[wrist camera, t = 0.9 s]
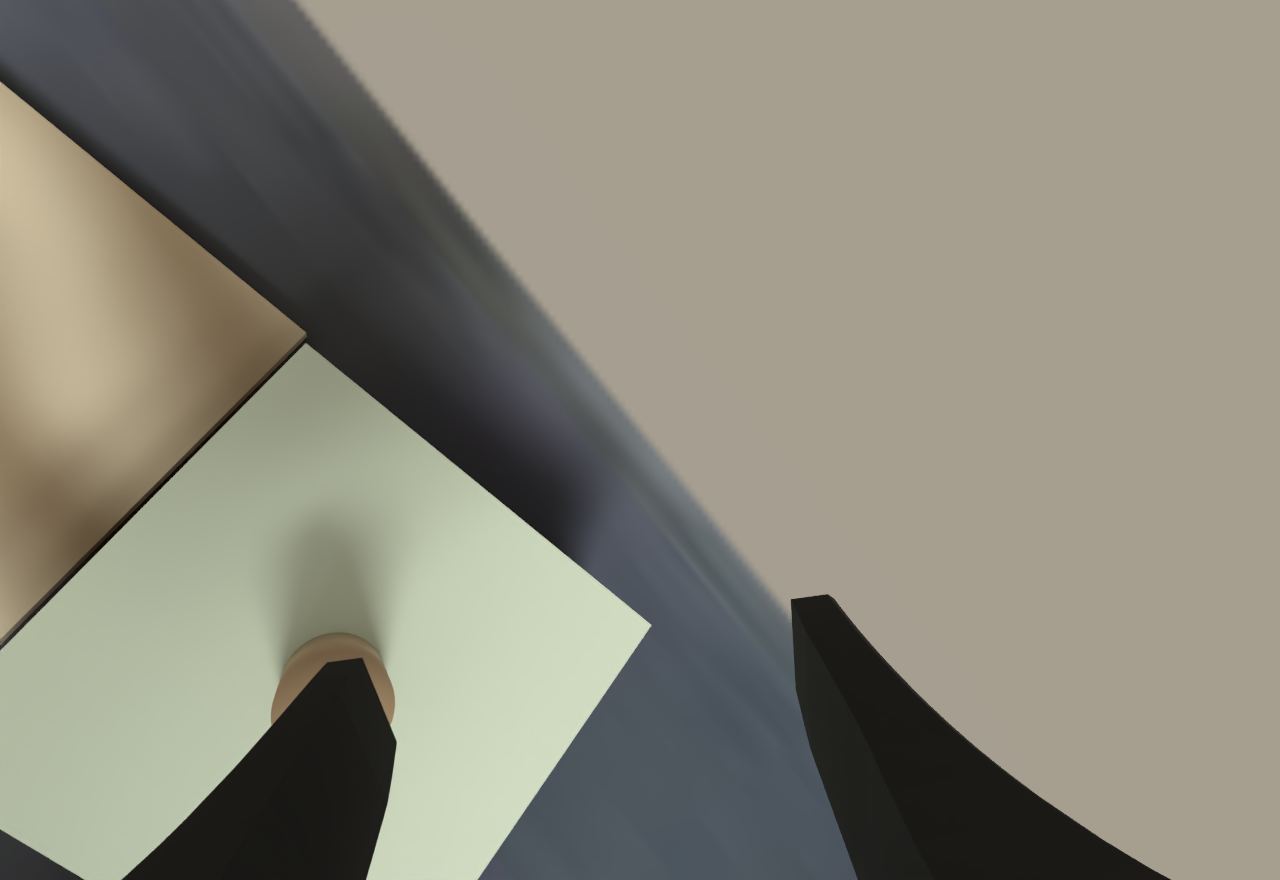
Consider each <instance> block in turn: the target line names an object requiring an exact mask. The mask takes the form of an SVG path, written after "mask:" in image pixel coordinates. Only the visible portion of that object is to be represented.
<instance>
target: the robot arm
mask: <svg viewBox="0 0 1280 880" xmlns="http://www.w3.org/2000/svg"><path fill="white" fill-rule="evenodd" d="M791 611H792V629H793V646H794V664H795V682H796V692H797V696H798V700H799V704H800V708H801V712H802V717H803V721H804V725H805V729H806V733H807V737H808V741H809V745H810V748H811V751H812V754H813V757H814V760H815V763H816V765H817V768H818V771H819V774H820V776H821V779H822V782H823V785H824V788H825V790H826V793H827V796H828V799H829V801H830V804H831V807H832V810H833V812H834V815H835V818H836V821H837V823H838V826H839V829H840V831H841V834H842V837H843V840H844V842H845V845H846V848H847V851H848V853H849V856H850V859H851V862H852V864H853V867H854V870H855V873H856V875H857V878H858V880H1170V879H1169V878H1167V877H1165V876H1163V875H1161V874H1159V873H1158V872H1156V871H1154V870H1152V869H1150V868H1149V867H1147V866H1145V865H1144V864H1142V863H1140V862H1139V861H1137V860H1135V859H1134V858H1132V857H1130V856H1129V855H1127V854H1125V853H1124V852H1122V851H1120V850H1119V849H1117V848H1116V847H1114V846H1112V845H1111V844H1109V843H1107V842H1105V841H1104V840H1102V839H1101V838H1099V837H1098V836H1096V835H1095V834H1093V833H1092V832H1091V831H1089V830H1088V829H1086V828H1085V827H1083V826H1082V825H1080V824H1079V823H1077V822H1076V821H1074V820H1073V819H1071V818H1070V817H1069V816H1067V815H1066V814H1064V813H1063V812H1061V811H1060V810H1058V809H1057V808H1055V807H1054V806H1052V805H1051V804H1049V803H1048V802H1046V801H1045V800H1043V799H1042V798H1041V797H1039V796H1038V795H1036V794H1035V793H1034V792H1032V791H1031V790H1030V789H1028V788H1027V787H1026V786H1024V785H1023V784H1021V782H1019V781H1018V780H1016V779H1015V778H1014V777H1013V776H1011V775H1010V774H1008V773H1007V772H1006V771H1005V770H1003V769H1002V768H1001V767H1000V766H998V765H997V764H996V763H995V762H994V761H992V760H991V759H990V758H989V757H987V756H986V755H985V754H984V753H982V752H981V751H980V750H979V749H978V748H976V747H975V746H974V745H973V744H972V743H970V742H969V741H968V740H967V739H966V738H965V737H964V736H962V735H961V734H960V733H959V732H958V731H957V730H955V729H954V728H953V727H952V726H951V725H950V724H949V723H948V722H947V721H946V720H945V719H944V718H943V717H941V716H940V715H939V714H938V713H937V712H936V711H935V710H934V709H933V708H932V707H931V706H929V705H928V703H926V701H924V700H923V699H922V698H921V697H920V696H919V695H918V694H917V693H916V692H915V691H914V690H913V689H912V688H911V687H910V686H909V685H908V683H907V682H906V681H905V680H904V679H903V678H902V677H901V676H900V675H899V674H898V673H897V672H896V671H895V670H894V669H893V668H892V667H891V666H890V665H889V664H888V663H887V662H886V660H885V659H884V658H883V657H882V656H881V655H880V654H879V653H878V652H877V651H876V649H875V648H874V647H873V646H872V645H871V644H870V643H869V641H868V640H867V639H866V638H865V637H864V636H863V634H862V633H861V632H860V631H859V630H858V629H857V627H856V626H855V625H854V624H853V622H852V621H851V620H850V619H849V618H848V616H847V615H846V614H845V612H844V611H843V610H842V609H841V607H840V606H839V605H838V603H837V602H836V601H835V599H834V598H832V597H831V596H829V595H828V594H827V595H819V596H812V597H805V598H797V599H791ZM396 746H397V741H396V738H395V736H394V733H393V731H392V729H391V726H390V724H389V721H388V719H387V716H386V714H385V711H384V709H383V707H382V704H381V702H380V699H379V697H378V694H377V692H376V689H375V687H374V685H373V682H372V680H371V677H370V675H369V672H368V670H367V667H366V665H365V663H364V660H363V658H355V659H347V660H340V661H333V662H327V663H326V664H325V665H324V666H323V667H322V668H321V669H320V670H319V671H318V673H317V674H316V675H315V676H314V677H313V678H312V679H311V680H310V682H309V683H308V684H307V685H306V686H305V687H304V689H303V690H302V691H301V692H300V693H299V694H298V696H297V697H296V698H295V699H294V700H293V701H292V703H291V704H290V705H289V706H288V707H287V708H286V710H285V711H284V712H283V713H282V714H281V715H280V717H279V718H278V719H277V720H276V721H275V722H274V724H273V725H272V726H271V727H270V728H269V729H268V730H267V731H266V733H265V734H264V735H263V736H262V737H261V738H260V739H259V741H258V742H257V743H256V744H255V745H254V746H253V747H252V748H251V750H250V751H249V752H248V753H247V754H246V755H245V756H244V758H243V759H242V760H241V761H240V762H239V763H238V764H237V765H236V767H235V768H234V769H233V770H232V771H231V772H230V773H229V774H228V775H227V776H226V777H225V778H224V779H223V780H222V781H221V782H220V783H219V784H218V785H217V787H216V788H215V789H214V790H213V791H212V792H211V793H210V794H209V795H208V796H207V797H206V798H205V799H204V800H203V801H202V802H201V803H200V804H199V805H198V807H197V808H196V809H195V810H194V811H193V812H192V813H191V814H190V815H189V816H188V817H187V818H186V819H185V820H184V821H183V822H182V823H181V824H180V825H179V826H178V827H177V828H176V829H175V830H174V831H173V832H172V833H171V834H170V835H169V836H168V837H167V838H166V839H165V840H164V841H163V842H162V843H161V844H160V845H159V846H157V847H156V848H155V849H154V850H153V851H152V852H151V853H150V854H149V855H148V856H147V857H146V858H145V859H143V860H142V861H141V862H140V863H139V864H138V865H137V866H136V867H135V868H134V869H132V870H131V871H130V872H129V873H128V874H127V875H126V876H125V877H124V878H123V879H122V880H366V878H367V875H368V872H369V868H370V865H371V861H372V858H373V854H374V851H375V847H376V844H377V840H378V837H379V833H380V829H381V826H382V822H383V819H384V815H385V811H386V808H387V804H388V799H389V793H390V787H391V781H392V775H393V768H394V761H395V753H396Z"/></svg>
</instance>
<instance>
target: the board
mask: <svg viewBox="0 0 1280 880" xmlns="http://www.w3.org/2000/svg"><path fill="white" fill-rule="evenodd" d="M306 338H307V333H306V332H305V331H304V330H302V329H301V328H300V327H299V326H298V325H296V324H295V323H294V322H293V321H291V320H290V319H289V318H288V317H287V316H285V315H284V314H283V313H282V312H280V311H279V310H278V309H277V308H276V307H274V306H273V305H272V304H271V303H270V302H268V301H267V300H266V299H265V298H263V297H262V296H261V295H260V294H259V293H257V292H256V291H255V290H254V289H252V288H251V287H250V286H249V285H248V284H246V283H245V282H244V281H243V280H241V279H240V278H239V277H238V276H237V275H235V274H234V273H233V272H232V271H230V270H229V269H228V268H227V267H226V266H224V265H223V264H222V263H221V262H220V261H218V260H217V259H216V258H215V257H213V256H212V255H211V254H210V253H209V252H207V251H206V250H205V249H204V248H202V247H201V246H200V245H199V244H198V243H196V242H195V241H194V240H193V239H191V238H190V237H189V236H188V235H187V234H185V233H184V232H183V231H182V230H180V229H179V228H178V227H177V226H176V225H174V224H173V223H172V222H171V221H170V220H168V219H167V218H166V217H165V216H163V215H162V214H161V213H160V212H159V211H157V210H156V209H155V208H154V207H152V206H151V205H150V204H149V203H148V202H146V201H145V200H144V199H143V198H141V197H140V196H139V195H138V194H137V193H135V192H134V191H133V190H132V189H131V188H129V187H128V186H127V185H126V184H124V183H123V182H122V181H121V180H120V179H118V178H117V177H116V176H115V175H113V174H112V173H111V172H110V171H109V170H107V169H106V168H105V167H104V166H102V165H101V164H100V163H99V162H98V161H96V160H95V159H94V158H93V157H91V156H90V155H89V154H88V153H87V152H85V151H84V150H83V149H82V148H81V147H79V146H78V145H77V144H76V143H74V142H73V141H72V140H71V139H70V138H68V137H67V136H66V135H65V134H63V133H62V132H61V131H60V130H59V129H57V128H56V127H55V126H54V125H52V124H51V123H50V122H49V121H48V120H46V119H45V118H44V117H43V116H42V115H40V114H39V113H38V112H37V111H35V110H34V109H33V108H32V107H31V106H29V105H28V104H27V103H26V102H24V101H23V100H22V99H21V98H20V97H18V96H17V95H16V94H15V93H13V92H12V91H11V90H10V89H9V88H7V87H6V86H5V85H4V84H2V83H1V82H0V645H1V644H2V643H3V642H4V641H5V640H6V639H7V638H8V637H9V636H10V635H11V634H12V633H13V632H14V631H15V630H16V629H17V628H18V627H19V626H20V625H21V624H22V623H23V622H24V621H25V620H26V619H27V618H28V617H29V616H30V615H31V614H32V613H33V612H34V611H35V610H36V609H37V608H38V607H39V606H40V605H41V604H42V603H43V602H44V601H45V600H46V599H47V598H48V597H49V596H50V595H51V594H52V593H53V592H54V591H55V590H56V589H57V588H58V587H59V586H60V585H61V584H62V583H63V582H64V581H65V580H66V579H67V578H68V577H69V576H70V575H71V574H72V573H73V572H74V571H75V570H76V569H77V568H78V567H79V566H80V565H81V564H82V563H83V562H84V561H85V560H86V559H87V558H88V557H89V556H90V555H91V554H92V553H93V552H94V551H95V550H96V549H97V548H98V547H99V546H100V545H101V544H102V543H103V542H104V541H105V540H106V539H107V538H108V537H109V536H110V535H111V534H112V533H113V532H114V531H115V530H116V529H117V528H118V527H119V526H120V525H121V524H122V523H123V522H124V521H125V520H126V519H127V518H128V517H129V516H130V515H131V514H132V513H133V512H134V511H135V510H136V509H137V508H138V507H139V506H140V504H141V503H142V502H143V501H144V500H145V499H146V498H147V497H148V496H149V495H150V494H151V493H152V492H153V491H154V490H155V489H156V488H157V487H158V486H159V485H160V484H161V483H162V482H163V481H164V480H165V479H166V478H167V477H168V476H169V475H170V474H171V473H172V472H173V471H174V470H175V469H176V468H177V467H178V466H179V465H180V464H181V463H182V462H183V461H184V460H185V459H186V458H187V457H188V456H189V455H190V454H191V453H192V452H193V451H194V450H195V449H196V448H197V447H198V446H199V445H200V444H201V443H202V442H203V441H204V440H205V439H206V438H207V437H208V436H209V435H210V434H211V433H212V432H213V431H214V430H215V429H216V428H217V427H218V426H219V425H220V424H221V423H222V422H223V421H224V420H225V419H226V418H227V417H228V416H229V415H230V414H231V413H232V412H233V411H234V410H235V409H236V408H237V407H238V406H239V405H240V404H241V403H242V402H243V401H244V400H245V399H246V398H247V397H248V396H249V395H250V394H251V393H252V392H253V391H254V390H255V389H256V388H257V387H258V386H259V385H260V384H261V383H262V382H263V381H264V380H265V379H266V378H267V377H268V376H269V375H270V374H271V373H272V372H273V371H274V370H275V369H276V368H277V367H278V366H279V365H280V364H281V363H282V362H283V361H284V360H285V359H286V358H287V357H288V356H289V355H290V354H291V353H292V352H293V351H294V350H295V349H296V348H297V347H298V346H299V345H300V344H301V343H302V342H303V341H304V340H305V339H306Z"/></svg>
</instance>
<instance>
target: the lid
mask: <svg viewBox="0 0 1280 880" xmlns="http://www.w3.org/2000/svg"><path fill="white" fill-rule="evenodd" d="M650 627H651V624H649V623H648V622H647V621H646V620H645V619H643V618H642V617H641V616H640V615H638V614H637V613H636V612H635V611H634V610H632V609H631V608H630V607H629V606H627V605H626V604H625V603H624V602H623V601H621V600H620V599H619V598H618V597H616V596H615V595H614V594H613V593H611V592H610V591H609V590H608V589H607V588H605V587H604V586H603V585H602V584H600V583H599V582H598V581H597V580H596V579H594V578H593V577H592V576H591V575H589V574H588V573H587V572H586V571H585V570H583V569H582V568H581V567H580V566H578V565H577V564H576V563H575V562H574V561H572V560H571V559H570V558H569V557H567V556H566V555H565V554H564V553H563V552H561V551H560V550H559V549H558V548H556V547H555V546H554V545H553V544H551V543H550V542H549V541H548V540H547V539H545V538H544V537H543V536H542V535H540V534H539V533H538V532H537V531H536V530H534V529H533V528H532V527H531V526H529V525H528V524H527V523H526V522H525V521H523V520H522V519H521V518H520V517H518V516H517V515H516V514H515V513H514V512H512V511H511V510H510V509H509V508H507V507H506V506H505V505H504V504H503V503H501V502H500V501H499V500H498V499H496V498H495V497H494V496H493V495H491V494H490V493H489V492H488V491H487V490H485V489H484V488H483V487H482V486H480V485H479V484H478V483H477V482H476V481H474V480H473V479H472V478H471V477H469V476H468V475H467V474H466V473H465V472H463V471H462V470H461V469H460V468H458V467H457V466H456V465H455V464H454V463H452V462H451V461H450V460H449V459H447V458H446V457H445V456H444V455H443V454H441V453H440V452H439V451H438V450H436V449H435V448H434V447H433V446H431V445H430V444H429V443H428V442H427V441H425V440H424V439H423V438H422V437H420V436H419V435H418V434H417V433H416V432H414V431H413V430H412V429H411V428H409V427H408V426H407V425H406V424H405V423H403V422H402V421H401V420H400V419H398V418H397V417H396V416H395V415H394V414H392V413H391V412H390V411H389V410H387V409H386V408H385V407H384V406H383V405H381V404H380V403H379V402H378V401H376V400H375V399H374V398H373V397H371V396H370V395H369V394H368V393H367V392H365V391H364V390H363V389H362V388H360V387H359V386H358V385H357V384H356V383H354V382H353V381H352V380H351V379H349V378H348V377H347V376H346V375H345V374H343V373H342V372H341V371H340V370H338V369H337V368H336V367H335V366H334V365H332V364H331V363H330V362H329V361H327V360H326V359H325V358H324V357H323V356H321V355H320V354H319V353H318V352H316V351H315V350H314V349H313V348H311V347H310V346H309V345H308V344H307V343H305V344H304V345H303V346H302V347H301V348H300V349H299V350H298V351H297V352H296V353H295V354H294V355H293V356H292V357H291V358H290V359H289V360H288V361H287V362H286V363H285V364H284V365H283V366H282V367H281V369H280V370H279V371H278V372H277V373H276V374H275V375H274V376H273V377H272V378H271V379H270V380H269V381H268V382H267V383H266V384H265V385H264V386H263V387H262V388H261V389H260V390H259V391H258V392H257V393H256V394H255V395H254V396H253V397H252V398H251V399H250V400H249V401H248V402H247V403H246V404H245V405H244V406H243V407H242V408H241V409H240V410H239V411H238V412H237V413H236V414H235V415H234V416H233V417H232V418H231V419H230V420H229V421H228V422H227V423H226V424H225V425H224V426H223V427H222V428H221V429H220V430H219V431H218V432H217V433H216V434H215V435H214V436H213V437H212V438H211V439H210V440H209V441H208V442H207V443H206V444H205V445H204V446H203V447H202V448H201V449H200V450H199V451H198V452H197V453H196V454H195V455H194V456H193V457H192V458H191V459H190V460H189V461H188V462H187V463H186V464H185V465H184V466H183V467H182V468H181V469H180V470H179V471H178V472H177V473H176V474H175V475H174V476H173V477H172V478H171V479H170V480H169V481H168V482H167V483H166V484H165V485H164V486H163V487H162V488H161V489H160V490H159V491H158V492H157V493H156V494H155V495H154V496H153V497H152V498H151V499H150V500H149V501H148V502H147V503H146V504H145V505H144V506H143V507H142V508H141V509H140V511H139V512H138V513H137V514H136V515H135V516H134V517H133V518H132V519H131V520H130V521H129V522H128V523H127V524H126V525H125V526H124V527H123V528H122V529H121V530H120V531H119V532H118V533H117V534H116V535H115V536H114V537H113V538H112V539H111V540H110V541H109V542H108V543H107V544H106V545H105V546H104V547H103V548H102V549H101V550H100V551H99V552H98V553H97V554H96V555H95V556H94V557H93V558H92V559H91V560H90V561H89V562H88V563H87V564H86V565H85V566H84V567H83V568H82V569H81V570H80V571H79V572H78V573H77V574H76V575H75V576H74V577H73V578H72V579H71V580H70V581H69V582H68V583H67V584H66V585H65V586H64V587H63V588H62V589H61V590H60V591H59V592H58V593H57V594H56V595H55V596H54V597H53V598H52V599H51V600H50V601H49V602H48V603H47V604H46V605H45V606H44V607H43V608H42V609H41V610H40V611H39V612H38V613H37V614H36V615H35V616H34V617H33V618H32V619H31V620H30V621H29V622H28V623H27V624H26V625H25V626H24V627H23V628H22V629H21V630H20V631H19V632H18V633H17V634H16V635H15V636H14V637H13V638H12V639H11V640H10V641H9V642H8V643H7V644H6V645H5V646H4V647H3V648H2V649H1V650H0V829H1V830H2V831H4V832H6V833H7V834H9V835H11V836H12V837H14V838H16V839H17V840H19V841H21V842H22V843H24V844H26V845H27V846H29V847H31V848H32V849H34V850H36V851H37V852H39V853H41V854H43V855H44V856H46V857H48V858H49V859H51V860H53V861H54V862H56V863H58V864H59V865H61V866H63V867H64V868H66V869H68V870H69V871H71V872H73V873H74V874H76V875H78V876H79V877H81V878H83V879H84V880H122V879H123V878H124V877H125V876H126V875H127V874H128V873H129V872H130V871H131V870H132V869H134V868H135V867H136V866H137V865H138V864H139V863H140V862H141V861H142V860H143V859H145V858H146V857H147V856H148V855H149V854H150V853H151V852H152V851H153V850H154V849H155V848H156V847H157V846H159V845H160V844H161V843H162V842H163V841H164V840H165V839H166V838H167V837H168V836H169V835H170V834H171V833H172V832H173V831H174V830H175V829H176V828H177V827H178V826H179V825H180V824H181V823H182V822H183V821H184V820H185V819H186V818H187V817H188V816H189V815H190V814H191V813H192V812H193V811H194V810H195V809H196V808H197V807H198V805H199V804H200V803H201V802H202V801H203V800H204V799H205V798H206V797H207V796H208V795H209V794H210V793H211V792H212V791H213V790H214V789H215V788H216V787H217V785H218V784H219V783H220V782H221V781H222V780H223V779H224V778H225V777H226V776H227V775H228V774H229V773H230V772H231V771H232V770H233V769H234V768H235V767H236V765H237V764H238V763H239V762H240V761H241V760H242V759H243V758H244V756H245V755H246V754H247V753H248V752H249V751H250V750H251V748H252V747H253V746H254V745H255V744H256V743H257V742H258V741H259V739H260V738H261V737H262V736H263V735H264V734H265V733H266V731H267V730H268V729H269V728H270V727H271V726H272V725H273V724H274V722H275V721H276V720H277V719H278V718H279V717H280V715H281V714H282V713H283V712H284V711H285V710H286V708H287V707H288V706H289V705H290V704H291V703H292V701H293V700H294V699H295V698H296V697H297V696H298V694H299V693H300V692H301V691H302V690H303V689H304V687H305V686H306V685H307V684H308V683H309V682H310V680H311V679H312V678H313V677H314V676H315V675H316V674H317V673H318V671H319V670H320V669H321V668H322V667H323V666H324V665H325V664H326V663H327V662H333V661H340V660H347V659H355V658H363V660H364V663H365V665H366V667H367V670H368V672H369V675H370V677H371V680H372V682H373V685H374V687H375V689H376V692H377V694H378V697H379V699H380V702H381V704H382V707H383V709H384V711H385V714H386V716H387V719H388V721H389V724H390V726H391V729H392V731H393V733H394V736H395V738H396V741H397V746H396V753H395V761H394V768H393V775H392V781H391V787H390V793H389V799H388V804H387V808H386V811H385V815H384V819H383V822H382V826H381V829H380V833H379V837H378V840H377V844H376V847H375V851H374V854H373V858H372V861H371V865H370V868H369V872H368V875H367V878H366V880H478V878H479V877H480V875H481V874H482V872H483V871H484V869H485V868H486V866H487V865H488V863H489V862H490V860H491V859H492V858H493V856H494V855H495V853H496V852H497V850H498V849H499V847H500V846H501V844H502V843H503V841H504V840H505V839H506V837H507V836H508V834H509V833H510V831H511V830H512V828H513V827H514V825H515V824H516V822H517V821H518V820H519V818H520V817H521V815H522V814H523V812H524V811H525V809H526V808H527V806H528V805H529V803H530V802H531V801H532V799H533V798H534V796H535V795H536V793H537V792H538V790H539V789H540V787H541V786H542V784H543V783H544V782H545V780H546V779H547V777H548V776H549V774H550V773H551V771H552V770H553V768H554V767H555V765H556V764H557V763H558V761H559V760H560V758H561V757H562V755H563V754H564V752H565V751H566V749H567V748H568V746H569V745H570V744H571V742H572V741H573V739H574V738H575V736H576V735H577V733H578V732H579V730H580V729H581V727H582V726H583V724H584V723H585V722H586V720H587V719H588V717H589V716H590V714H591V713H592V711H593V710H594V708H595V707H596V705H597V704H598V703H599V701H600V700H601V698H602V697H603V695H604V694H605V692H606V691H607V689H608V688H609V686H610V685H611V684H612V682H613V681H614V679H615V678H616V676H617V675H618V673H619V672H620V670H621V669H622V667H623V666H624V665H625V663H626V662H627V660H628V659H629V657H630V656H631V654H632V653H633V651H634V650H635V648H636V647H637V646H638V644H639V643H640V641H641V640H642V638H643V637H644V635H645V634H646V632H647V631H648V629H649V628H650Z"/></svg>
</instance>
